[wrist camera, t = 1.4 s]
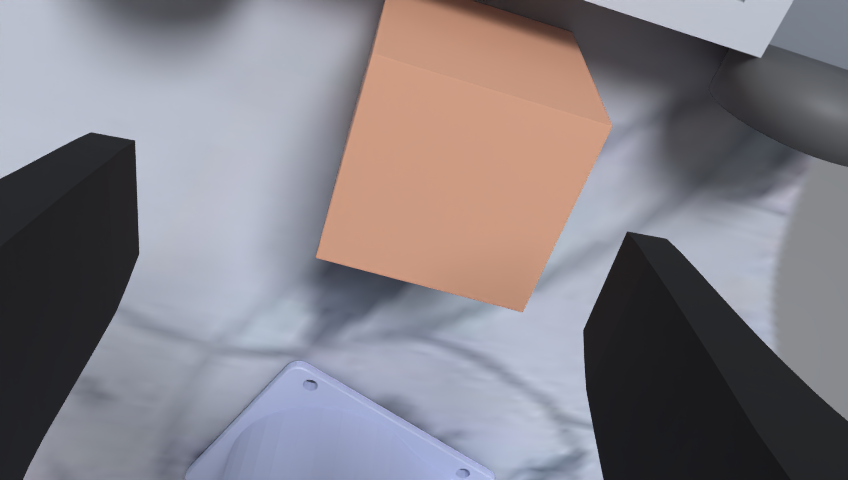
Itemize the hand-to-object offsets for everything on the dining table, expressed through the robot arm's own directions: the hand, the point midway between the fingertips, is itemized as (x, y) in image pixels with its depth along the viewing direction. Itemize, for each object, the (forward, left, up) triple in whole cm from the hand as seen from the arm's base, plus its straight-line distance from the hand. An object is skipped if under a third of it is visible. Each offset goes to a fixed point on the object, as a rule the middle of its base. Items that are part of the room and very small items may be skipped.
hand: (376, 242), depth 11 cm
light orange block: (-2, +1, -11) cm, 11 cm away
